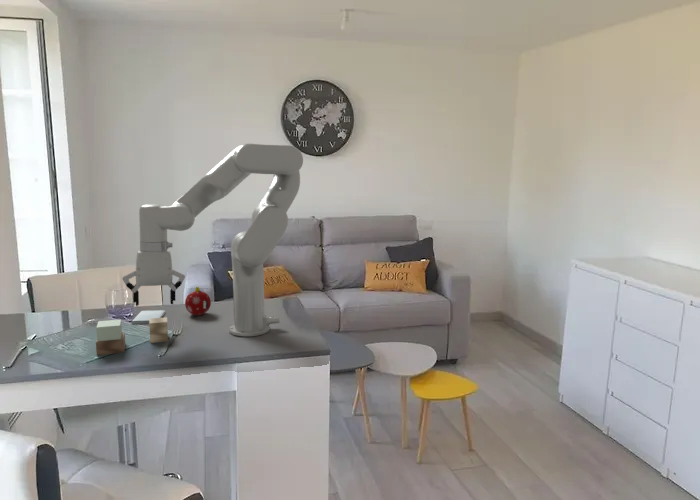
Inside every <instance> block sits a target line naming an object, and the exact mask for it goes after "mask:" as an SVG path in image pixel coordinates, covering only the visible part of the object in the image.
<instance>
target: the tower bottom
mask: <svg viewBox="0 0 700 500" xmlns="http://www.w3.org/2000/svg"><path fill="white" fill-rule="evenodd" d="M95 348H96V349H95V350H96V356H102V355H112V354H120V353H121V354H122V353H125V348H126V334H125V331H122V336H121V339H118V340H107V341H97V339H96V340H95Z"/></svg>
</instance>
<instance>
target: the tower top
mask: <svg viewBox="0 0 700 500" xmlns="http://www.w3.org/2000/svg"><path fill="white" fill-rule="evenodd" d="M122 326H123V325H122V319H111V320H99V321H98V322H97V325H96V327H95V328H96V340H97V341H107V340H118V339H121V336H122V332H123V331H122V330H123V327H122Z"/></svg>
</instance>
